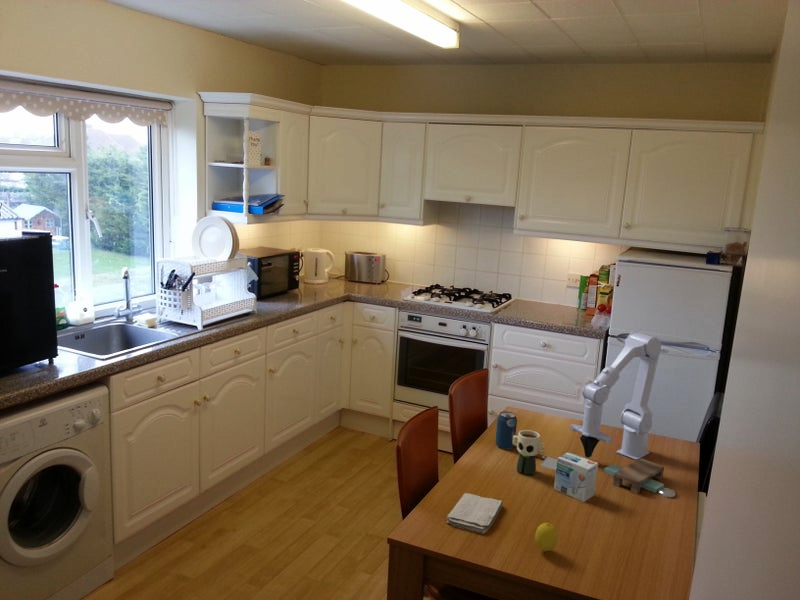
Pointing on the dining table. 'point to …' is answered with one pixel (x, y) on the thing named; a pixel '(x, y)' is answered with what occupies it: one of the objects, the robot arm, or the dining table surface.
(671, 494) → the steel disc
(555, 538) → the lemon
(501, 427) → the soda can
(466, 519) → the washcloth
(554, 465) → the kitchen cleaver
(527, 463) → the character mug
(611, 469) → the slat
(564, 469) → the light bulb box
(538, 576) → the dining table surface
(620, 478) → the shelf
